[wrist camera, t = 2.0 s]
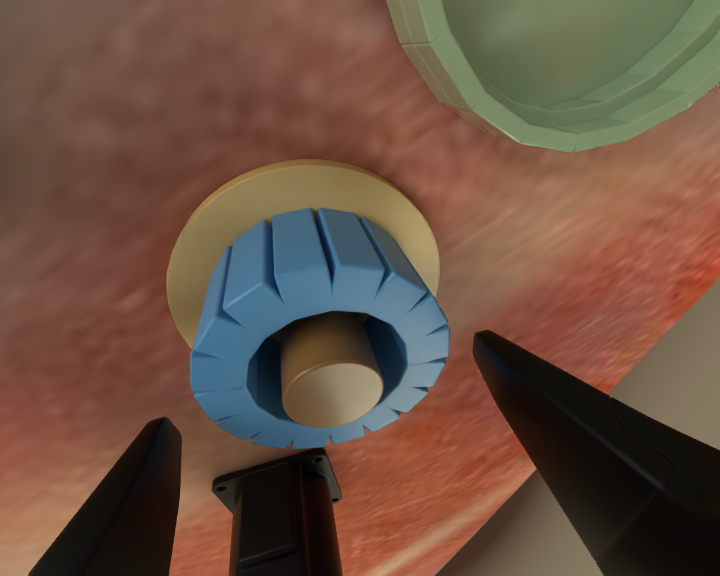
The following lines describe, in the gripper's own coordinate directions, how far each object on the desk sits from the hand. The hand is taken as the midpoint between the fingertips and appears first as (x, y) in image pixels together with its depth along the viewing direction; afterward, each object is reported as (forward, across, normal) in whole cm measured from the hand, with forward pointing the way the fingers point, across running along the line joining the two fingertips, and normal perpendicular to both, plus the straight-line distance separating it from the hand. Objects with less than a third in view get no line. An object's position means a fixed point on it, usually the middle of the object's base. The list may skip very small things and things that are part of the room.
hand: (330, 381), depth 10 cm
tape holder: (+4, 0, 0) cm, 5 cm away
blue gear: (+4, 0, 0) cm, 4 cm away
